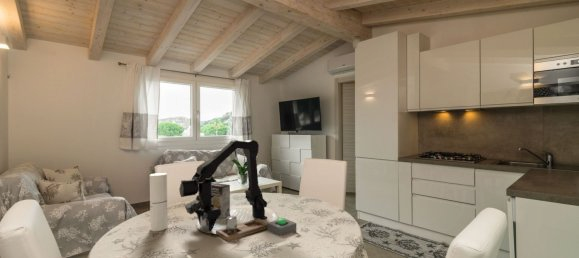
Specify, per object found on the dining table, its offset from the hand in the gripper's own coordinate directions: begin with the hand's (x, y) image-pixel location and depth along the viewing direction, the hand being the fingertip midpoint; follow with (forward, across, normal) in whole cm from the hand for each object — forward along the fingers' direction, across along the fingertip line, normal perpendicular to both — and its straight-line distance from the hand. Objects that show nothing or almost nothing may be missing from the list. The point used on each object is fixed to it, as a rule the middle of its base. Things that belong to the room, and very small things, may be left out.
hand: (205, 228), depth 119 cm
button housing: (+2, +24, +24) cm, 34 cm away
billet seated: (0, +13, +6) cm, 14 cm away
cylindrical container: (+2, -19, -14) cm, 24 cm away
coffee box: (+2, -16, +15) cm, 22 cm away
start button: (-2, +24, +24) cm, 34 cm away
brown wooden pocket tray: (+2, +13, +11) cm, 17 cm away
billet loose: (+2, 0, 0) cm, 2 cm away
